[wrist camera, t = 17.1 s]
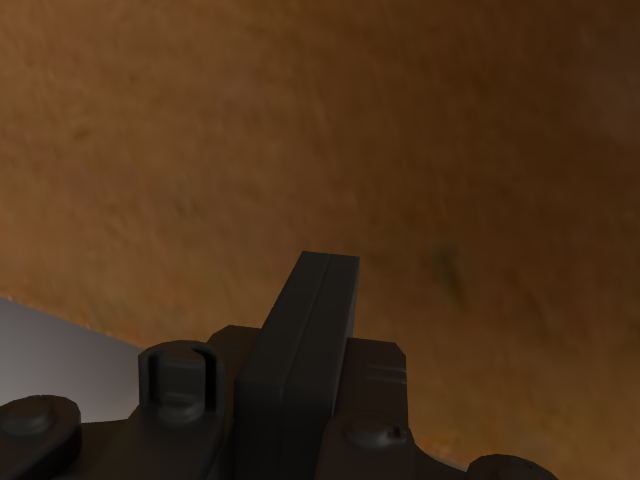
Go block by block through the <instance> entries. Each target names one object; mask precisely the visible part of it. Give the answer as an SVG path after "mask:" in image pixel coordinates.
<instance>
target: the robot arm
mask: <svg viewBox="0 0 640 480" xmlns="http://www.w3.org/2000/svg"><path fill="white" fill-rule="evenodd" d="M359 262H360V257H356V256H346V255H337V254H327V253H317V252H308V251H303V252H302V253H301V255H300V257H299V259H298V261H297V263H296V265H295V266H294V268H293V270H292V272H291V274H290V276H289V278H288V280H287V281H286V283H285V285H284V287H283V289H282V291H281V293H280V294H279V296H278V298H277V300H276V302H275V304H274V306H273V308H272V309H271V311H270V313H269V315H268V317H267V319H266V321H265V323H264V324H263V326H262V328H261V329H259V328H251V327H242V326H234V325H228V326H227V327H225V328H223V329H221V330H219V331H218V332H216V333H214V334H212V336H211V337H210V339H209V340H208V341H207V343H204V342H199V341H188V340H178V341H171V342H164V343H161V344H158V345H155V346H152V347H150V348H148V349H146V350H145V351H143V352H142V353H141V354H139V355H138V366H139V367H138V368H139V405H138V406H137V408H136V409H135V410H134V411H133V413H132V414H131V415H130V416H129V418H128V419H125V420H117V421H106V422H92V423H81V413H80V410H79V408H78V406H77V404H76V403H75V402H73V401H71V400H69V399H67V398H65V397H60V396H54V395H41V396H39V395H35V396H28V397H26V398H22V399H18V400H14V401H11V402H9V403H7V404H5V405H3V406H0V480H558V479H557V478H556V477H555V476H554V475H553V474H552V473H551V472H549V471H548V470H546V469H544V468H543V467H541V466H539V465H538V464H536V463H534V462H531V461H528V460H526V459H522V458H520V457H517V456H511V455H502V454H493V455H487V456H481V457H479V458H478V459H476V460H475V461H473V462H472V463H470V465H469V467H468V470H467V472H464V471H461V470H459V469H456V468H453V467H450V466H448V465H445V464H443V463H441V462H439V461H437V460H435V459H433V458H432V457H430V456H429V455H427V454H426V453H424V452H423V451H422V450H421V449H420V448H419V447H418V446H417V445H416V444H415V443H414V438H413V435H412V433H411V430H410V429H409V428H408V403H407V384H406V382H407V378H406V356H405V355H404V353H403V352H402V351H401V350H400V348H399V347H398V346H397V345H396V343H392V342H383V341H375V340H367V339H358V338H353V327H354V316H355V306H356V295H357V284H358V273H359Z"/></svg>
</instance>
